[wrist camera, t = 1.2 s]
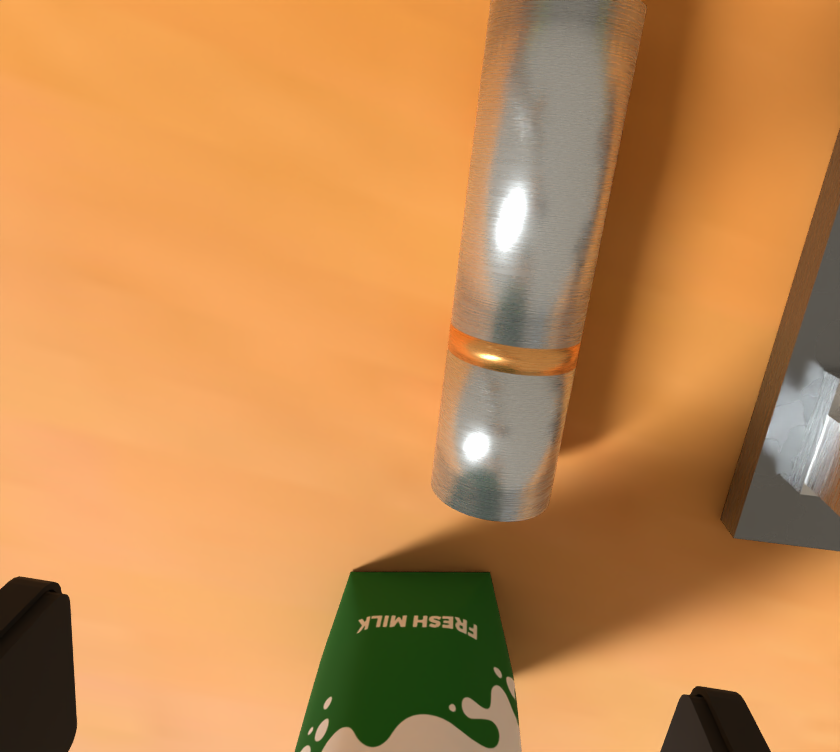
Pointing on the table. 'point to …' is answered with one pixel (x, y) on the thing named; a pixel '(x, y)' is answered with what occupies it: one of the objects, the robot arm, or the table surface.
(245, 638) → the table surface
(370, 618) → the milk carton
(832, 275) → the cylinder mounting fixture
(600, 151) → the banded metal cylinder
